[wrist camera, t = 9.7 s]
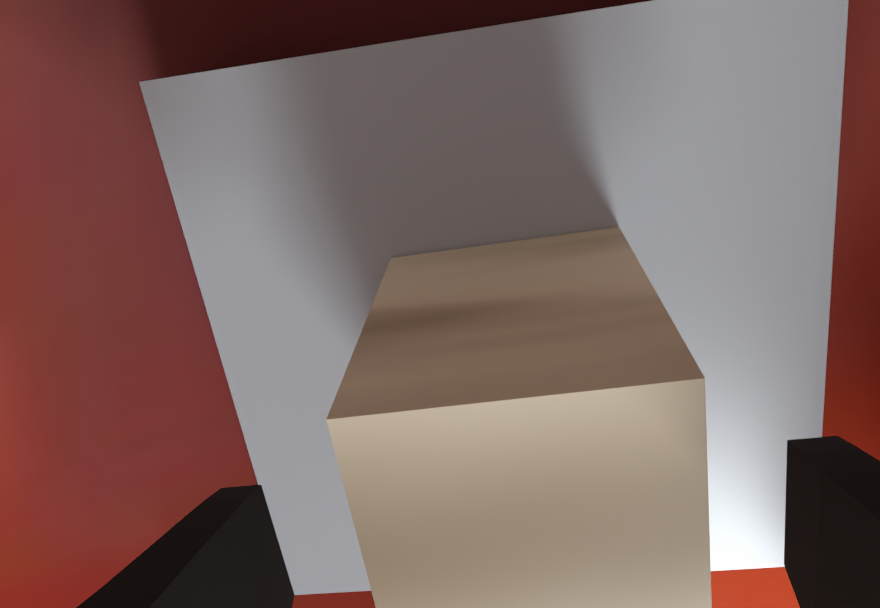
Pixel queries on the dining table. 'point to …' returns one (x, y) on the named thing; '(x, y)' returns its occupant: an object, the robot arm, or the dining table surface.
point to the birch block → (525, 433)
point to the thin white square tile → (521, 219)
